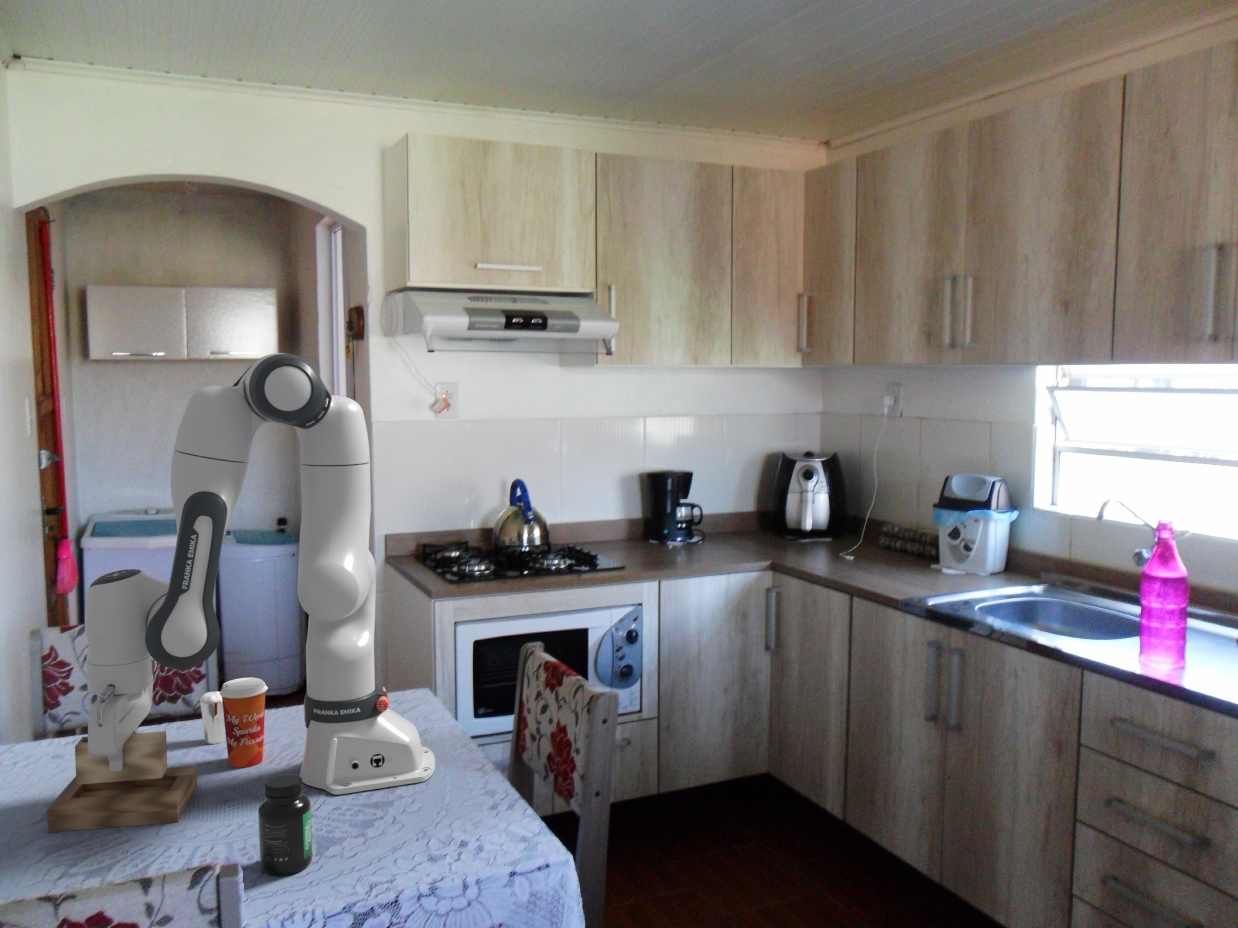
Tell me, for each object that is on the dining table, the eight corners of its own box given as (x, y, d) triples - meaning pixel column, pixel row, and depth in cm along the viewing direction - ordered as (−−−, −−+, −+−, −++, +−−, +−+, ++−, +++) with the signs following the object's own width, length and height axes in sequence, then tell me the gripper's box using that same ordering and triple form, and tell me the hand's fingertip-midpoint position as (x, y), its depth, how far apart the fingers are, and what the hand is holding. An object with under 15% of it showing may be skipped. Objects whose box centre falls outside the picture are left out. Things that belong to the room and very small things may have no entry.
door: (167, 767, 156) (166, 728, 155) (161, 777, 152) (160, 737, 152) (84, 773, 153) (82, 734, 153) (76, 784, 149) (74, 743, 149)
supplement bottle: (322, 863, 136) (319, 779, 135) (276, 882, 131) (273, 795, 130) (296, 847, 141) (293, 766, 140) (251, 865, 136) (247, 781, 135)
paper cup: (224, 773, 167) (221, 692, 165) (220, 757, 173) (217, 680, 172) (273, 764, 170) (270, 686, 169) (266, 749, 177) (264, 673, 176)
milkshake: (226, 745, 179) (224, 692, 178) (197, 745, 179) (195, 691, 178) (236, 736, 183) (234, 684, 183) (207, 736, 184) (205, 683, 183)
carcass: (197, 786, 161) (196, 759, 161) (178, 821, 149) (176, 793, 148) (78, 795, 158) (77, 767, 158) (48, 832, 145) (46, 802, 145)
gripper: (121, 696, 142) (124, 789, 143) (159, 656, 162) (161, 737, 163) (73, 698, 140) (77, 792, 142) (117, 657, 160) (120, 739, 162)
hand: (122, 762), depth 153 cm, fingers closed on door, 4 cm apart
